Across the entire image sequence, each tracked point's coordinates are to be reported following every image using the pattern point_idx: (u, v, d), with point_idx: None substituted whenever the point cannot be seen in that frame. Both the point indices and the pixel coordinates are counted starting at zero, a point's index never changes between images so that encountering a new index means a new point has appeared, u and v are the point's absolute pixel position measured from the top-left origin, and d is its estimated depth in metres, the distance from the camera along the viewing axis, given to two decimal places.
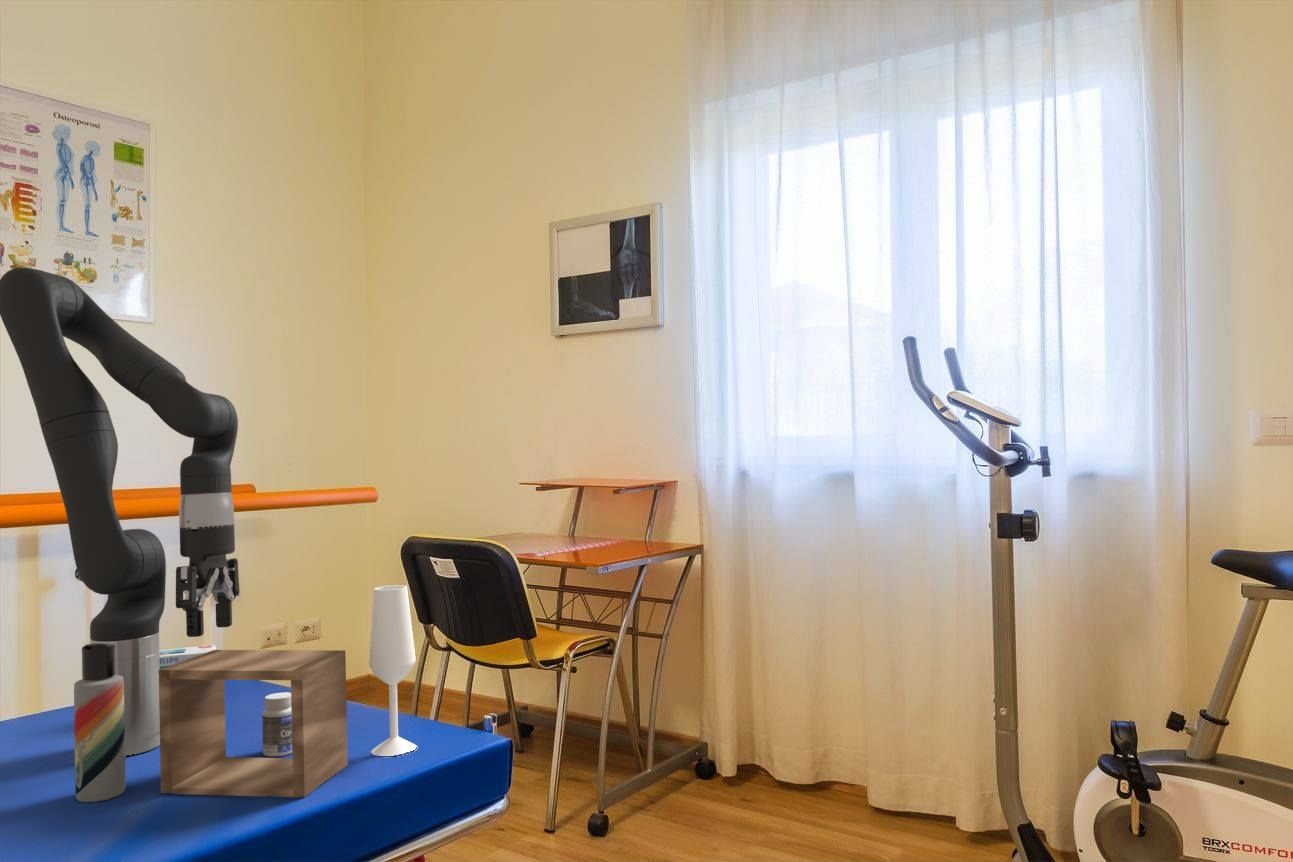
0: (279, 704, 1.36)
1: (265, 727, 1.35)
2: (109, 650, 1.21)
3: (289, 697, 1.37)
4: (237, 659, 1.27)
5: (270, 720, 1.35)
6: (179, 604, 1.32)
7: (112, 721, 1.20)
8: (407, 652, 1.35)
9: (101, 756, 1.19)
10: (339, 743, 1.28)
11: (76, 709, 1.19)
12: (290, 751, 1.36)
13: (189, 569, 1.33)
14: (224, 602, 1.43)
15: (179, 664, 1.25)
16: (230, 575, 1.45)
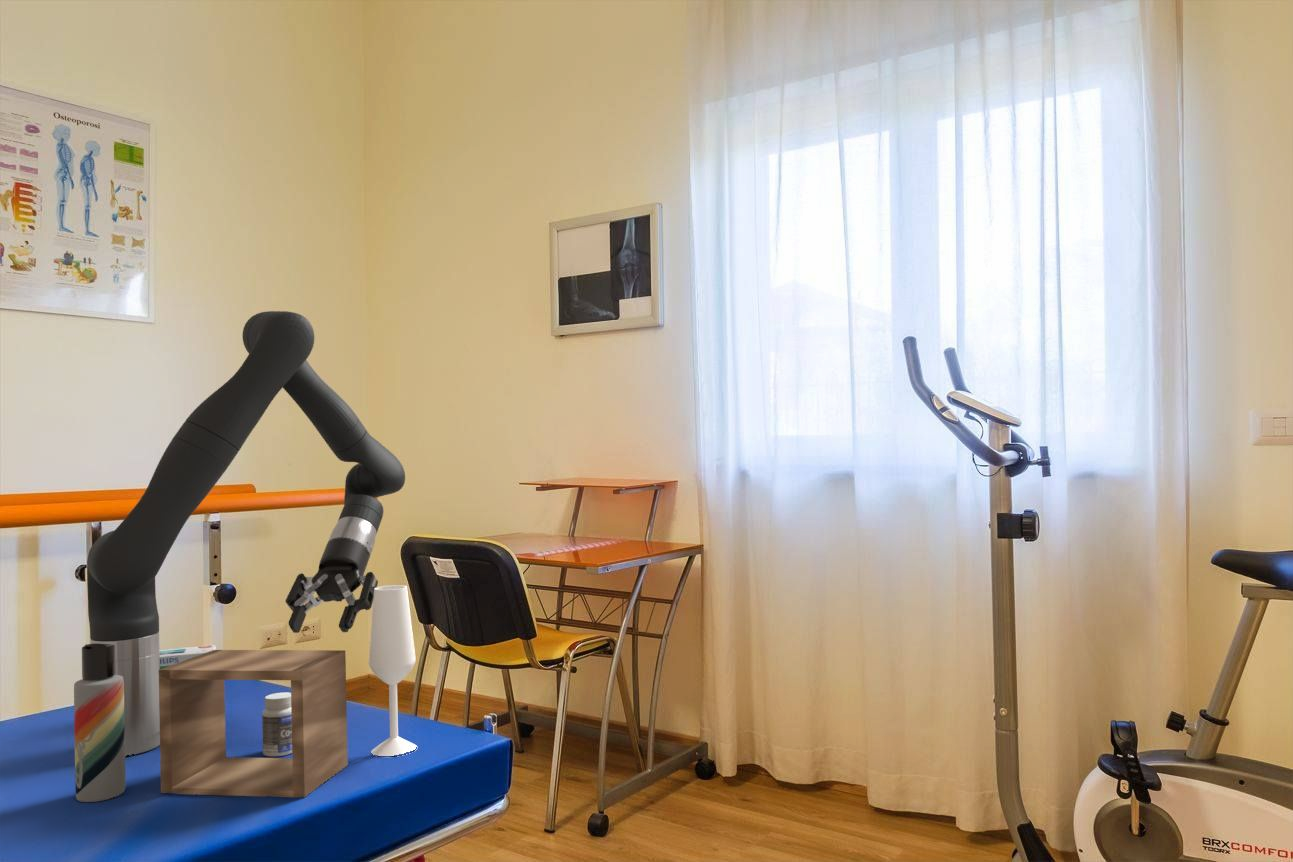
0: (279, 704, 1.36)
1: (265, 727, 1.35)
2: (109, 650, 1.21)
3: (289, 697, 1.37)
4: (237, 659, 1.27)
5: (270, 720, 1.35)
6: (366, 600, 1.51)
7: (112, 721, 1.20)
8: (407, 652, 1.35)
9: (101, 756, 1.19)
10: (339, 743, 1.28)
11: (76, 709, 1.19)
12: (290, 751, 1.36)
13: (376, 580, 1.55)
14: (303, 611, 1.52)
15: (179, 664, 1.25)
16: (303, 592, 1.55)
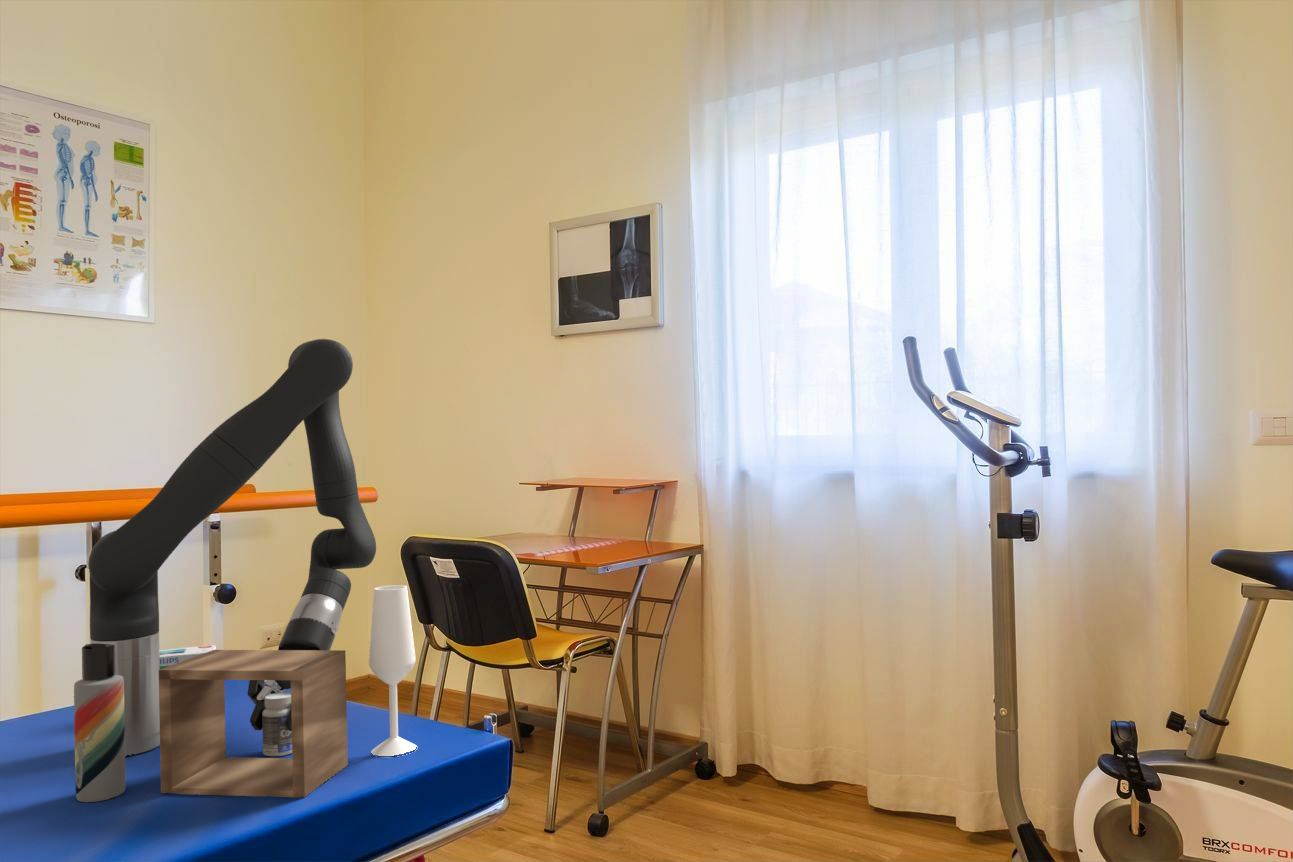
0: (279, 704, 1.36)
1: (265, 727, 1.35)
2: (109, 650, 1.21)
3: (289, 697, 1.37)
4: (237, 659, 1.27)
5: (270, 720, 1.35)
6: None
7: (112, 721, 1.20)
8: (407, 652, 1.35)
9: (101, 756, 1.19)
10: (339, 743, 1.28)
11: (76, 709, 1.19)
12: (290, 751, 1.36)
13: None
14: None
15: (179, 664, 1.25)
16: (262, 681, 1.42)
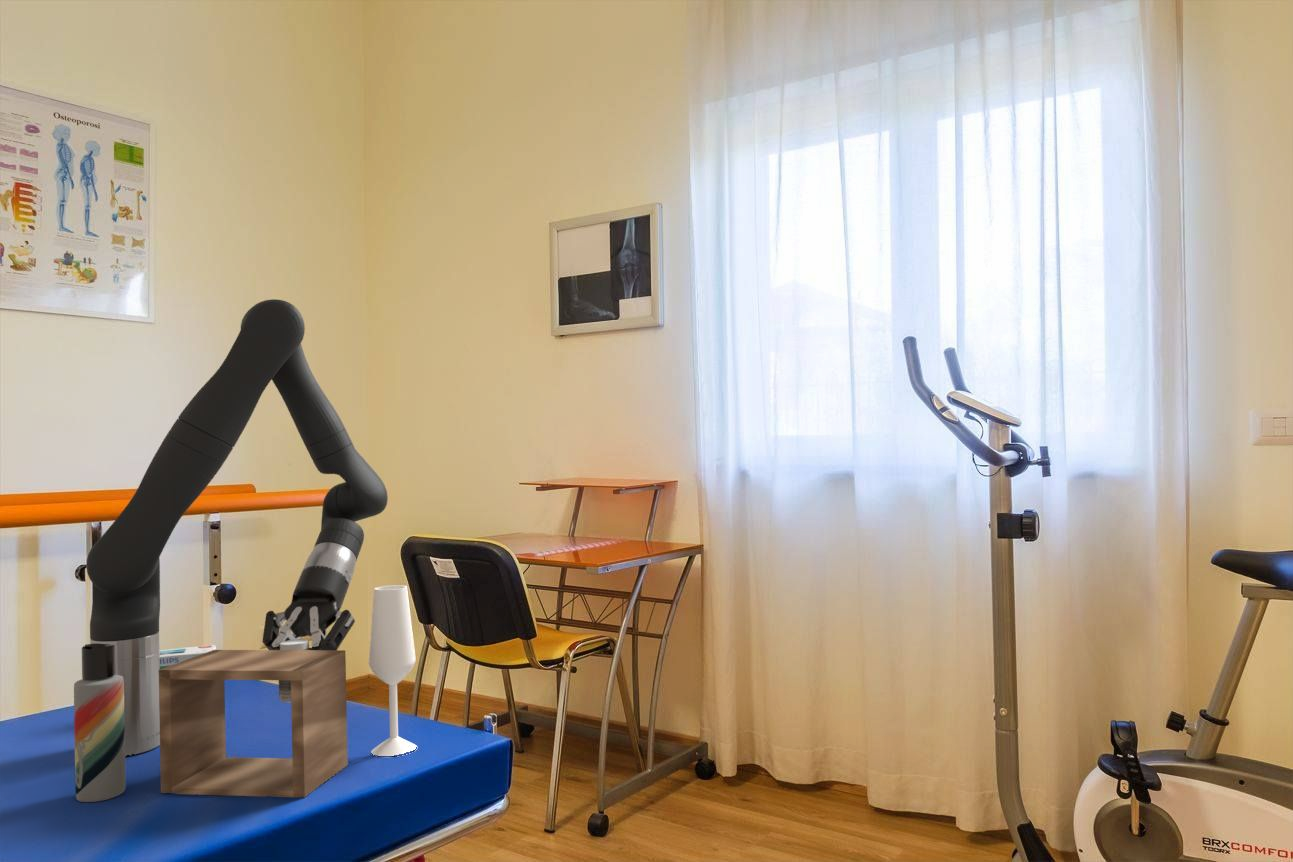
0: (295, 649, 1.34)
1: None
2: (109, 650, 1.21)
3: (304, 643, 1.36)
4: (237, 659, 1.27)
5: None
6: (332, 641, 1.37)
7: (112, 720, 1.20)
8: (407, 652, 1.35)
9: (101, 756, 1.19)
10: (339, 743, 1.28)
11: (76, 709, 1.19)
12: None
13: (353, 620, 1.41)
14: None
15: (179, 664, 1.25)
16: (277, 629, 1.41)
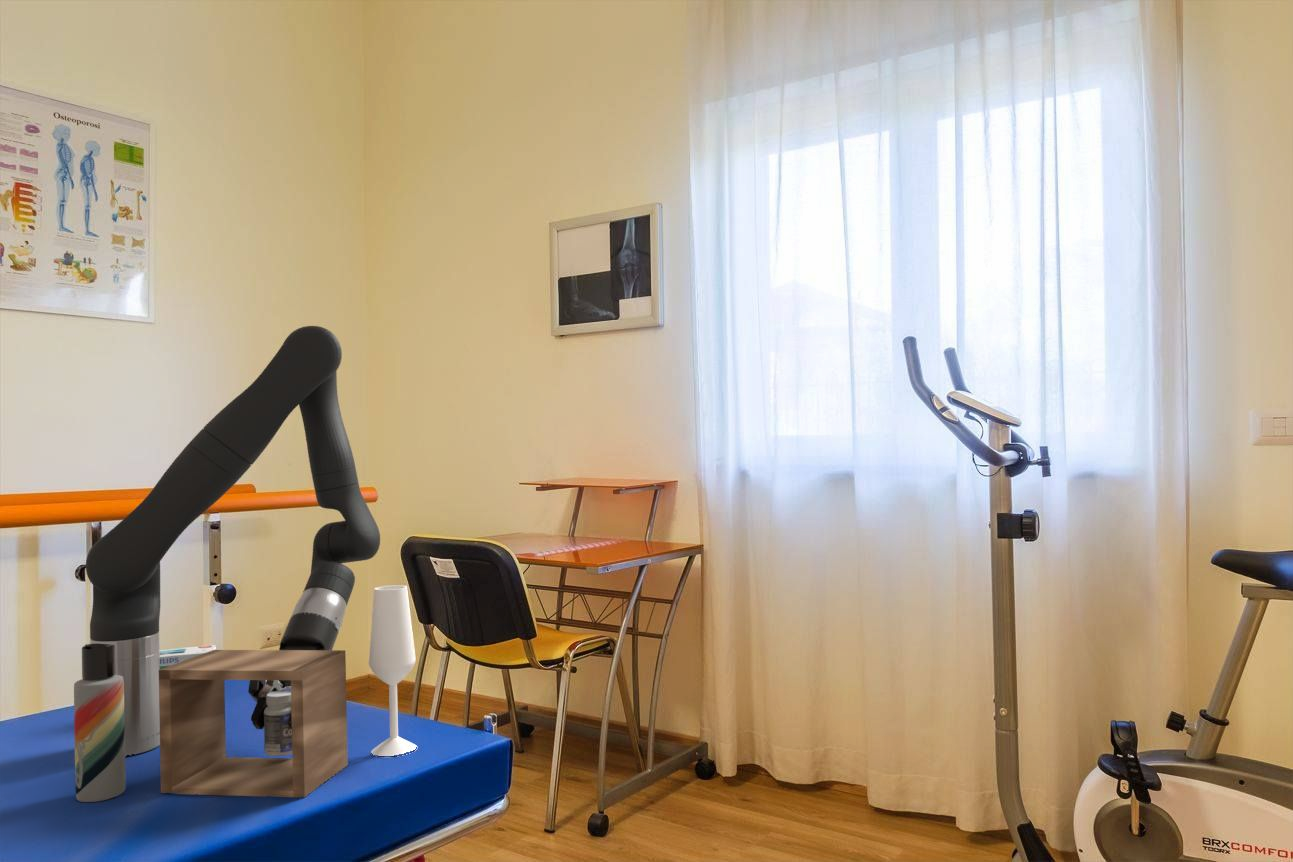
0: (282, 702, 1.31)
1: (267, 726, 1.31)
2: (109, 650, 1.21)
3: None
4: (237, 659, 1.27)
5: (272, 719, 1.30)
6: None
7: (112, 721, 1.20)
8: (407, 652, 1.35)
9: (101, 756, 1.19)
10: (339, 743, 1.28)
11: (76, 709, 1.19)
12: None
13: None
14: None
15: (179, 664, 1.25)
16: None
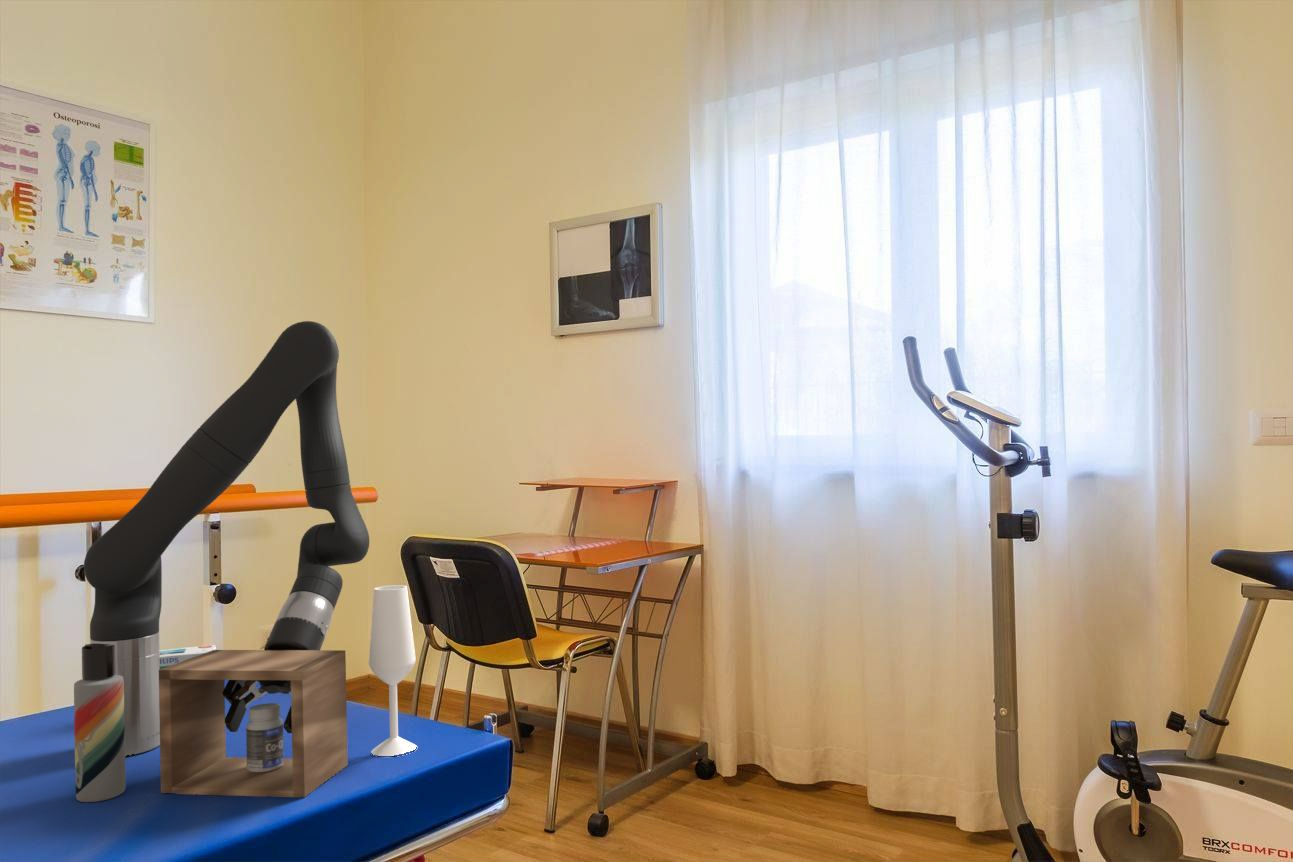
0: (265, 716, 1.26)
1: (249, 741, 1.26)
2: (109, 650, 1.21)
3: (275, 709, 1.28)
4: (237, 659, 1.27)
5: (254, 734, 1.26)
6: None
7: (112, 720, 1.20)
8: (407, 652, 1.35)
9: (101, 756, 1.19)
10: (339, 743, 1.28)
11: (76, 709, 1.19)
12: (276, 766, 1.27)
13: None
14: (243, 705, 1.30)
15: (179, 664, 1.25)
16: (244, 681, 1.33)
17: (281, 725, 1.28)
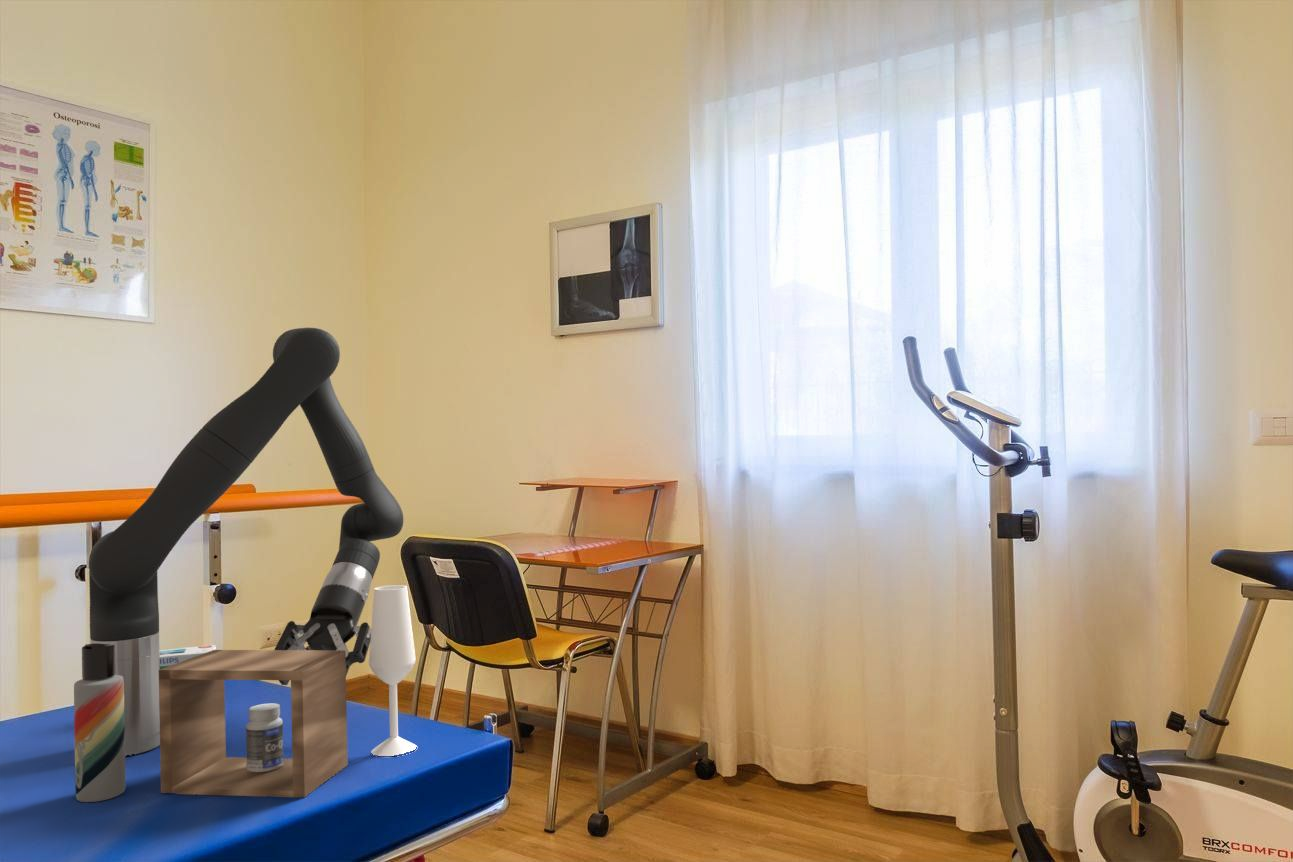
0: (264, 716, 1.27)
1: (249, 741, 1.26)
2: (109, 650, 1.21)
3: (275, 708, 1.28)
4: (237, 659, 1.27)
5: (254, 734, 1.26)
6: (360, 653, 1.43)
7: (112, 720, 1.20)
8: (407, 652, 1.35)
9: (101, 756, 1.19)
10: (339, 743, 1.28)
11: (76, 709, 1.19)
12: (276, 766, 1.27)
13: None
14: None
15: (179, 664, 1.25)
16: (292, 640, 1.48)
17: (281, 725, 1.28)
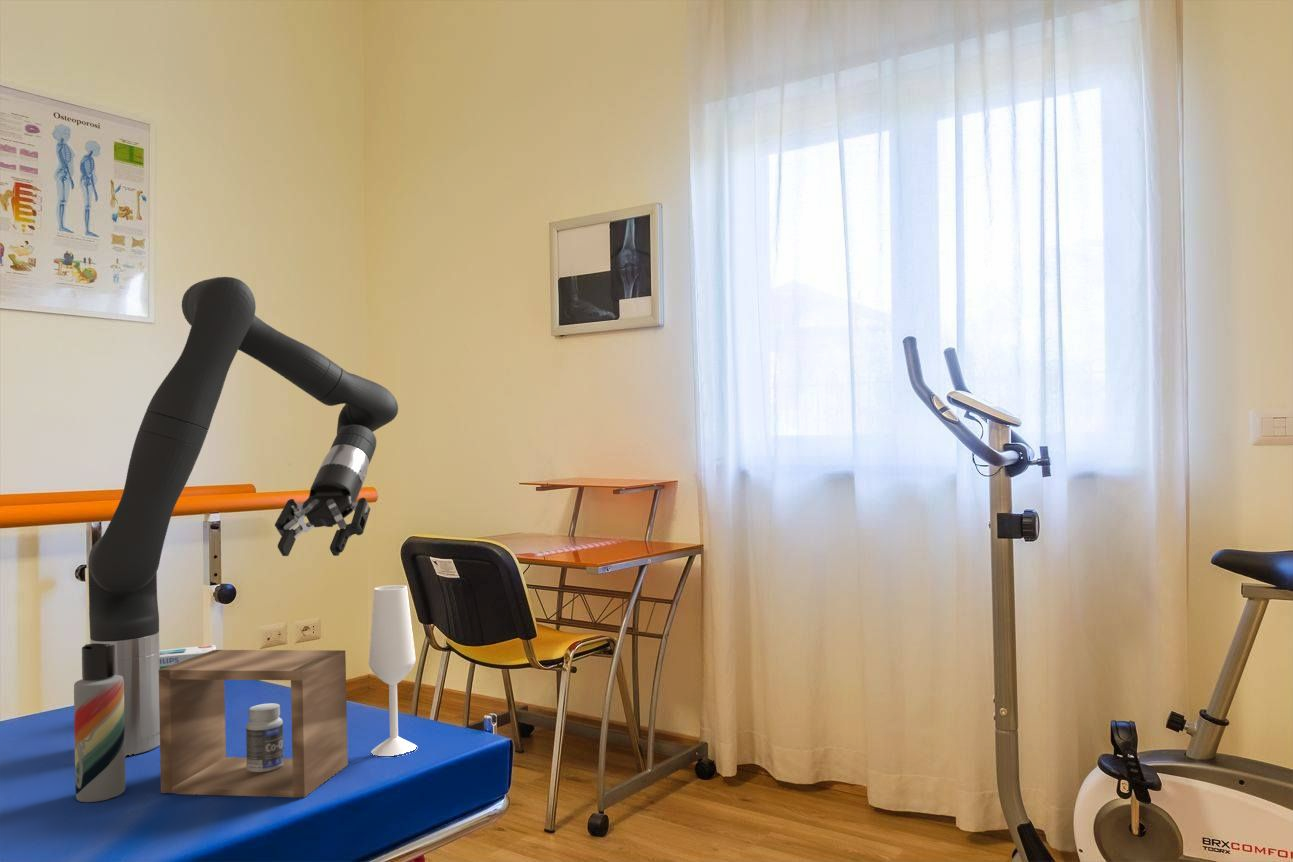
0: (264, 716, 1.27)
1: (249, 741, 1.26)
2: (109, 650, 1.21)
3: (275, 708, 1.28)
4: (237, 659, 1.27)
5: (254, 734, 1.26)
6: (358, 524, 1.47)
7: (112, 720, 1.20)
8: (407, 652, 1.35)
9: (101, 756, 1.19)
10: (339, 743, 1.28)
11: (76, 709, 1.19)
12: (276, 766, 1.27)
13: (369, 507, 1.52)
14: (293, 535, 1.49)
15: (179, 664, 1.25)
16: (292, 517, 1.52)
17: (281, 725, 1.28)
